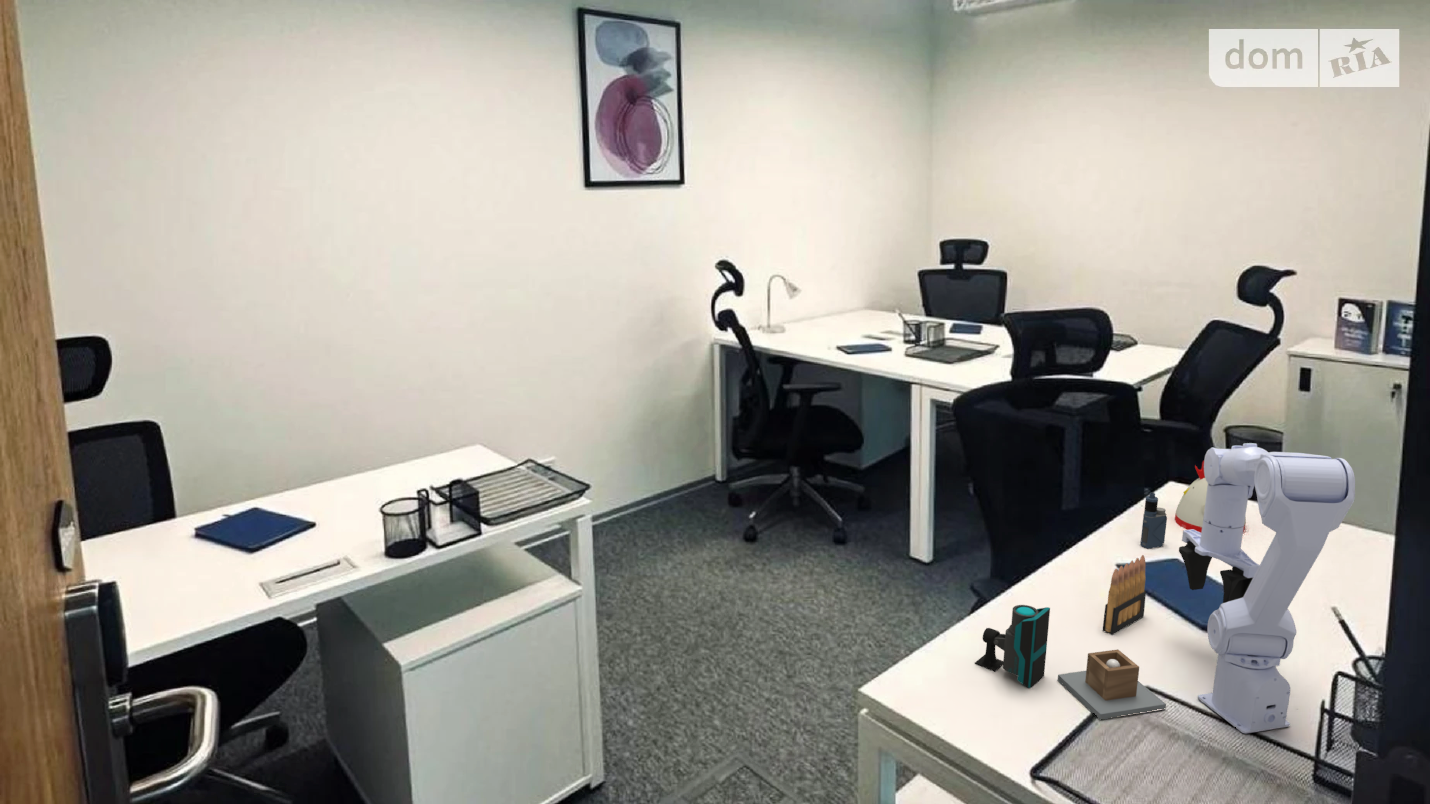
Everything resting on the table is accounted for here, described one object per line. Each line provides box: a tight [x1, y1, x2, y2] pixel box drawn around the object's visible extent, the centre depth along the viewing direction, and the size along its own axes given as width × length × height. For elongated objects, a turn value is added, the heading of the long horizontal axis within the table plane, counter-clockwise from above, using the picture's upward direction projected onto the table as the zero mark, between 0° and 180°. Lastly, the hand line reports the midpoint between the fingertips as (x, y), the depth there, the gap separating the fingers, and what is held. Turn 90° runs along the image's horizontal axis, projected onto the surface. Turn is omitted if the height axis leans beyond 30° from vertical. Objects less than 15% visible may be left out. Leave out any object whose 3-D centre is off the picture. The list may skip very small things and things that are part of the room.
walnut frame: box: [1085, 649, 1140, 701], centre depth 139 cm, size 5×5×5 cm
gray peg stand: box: [1057, 659, 1167, 720], centre depth 139 cm, size 11×11×6 cm
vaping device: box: [1139, 492, 1168, 550], centre depth 191 cm, size 3×5×12 cm, turn 107°
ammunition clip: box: [1102, 554, 1147, 636], centre depth 159 cm, size 11×2×12 cm, turn 127°
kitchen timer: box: [1174, 460, 1247, 534], centre depth 201 cm, size 14×14×15 cm
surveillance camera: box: [974, 604, 1051, 689], centre depth 145 cm, size 6×12×10 cm
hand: (1212, 599), depth 147 cm, fingers open, 7 cm apart
